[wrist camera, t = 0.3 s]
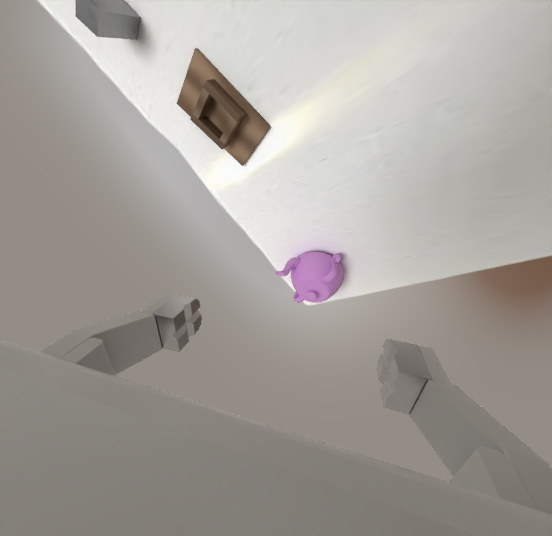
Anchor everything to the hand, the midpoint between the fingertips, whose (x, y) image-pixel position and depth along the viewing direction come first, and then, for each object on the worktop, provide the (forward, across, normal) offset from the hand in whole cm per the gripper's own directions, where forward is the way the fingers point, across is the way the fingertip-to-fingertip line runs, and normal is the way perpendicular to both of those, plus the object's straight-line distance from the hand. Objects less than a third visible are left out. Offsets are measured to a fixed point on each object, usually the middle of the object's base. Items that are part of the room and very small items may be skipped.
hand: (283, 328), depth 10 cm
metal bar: (+46, +45, -31) cm, 71 cm away
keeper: (+50, +27, -16) cm, 59 cm away
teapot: (+62, +2, +24) cm, 67 cm away
